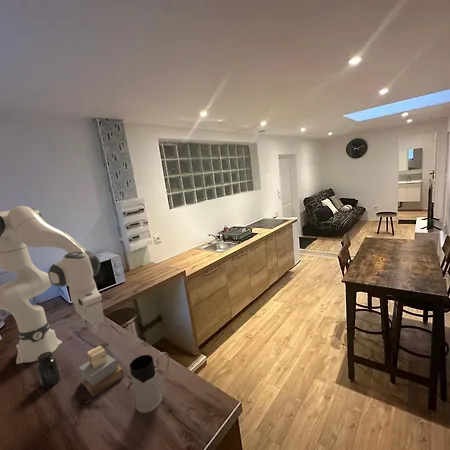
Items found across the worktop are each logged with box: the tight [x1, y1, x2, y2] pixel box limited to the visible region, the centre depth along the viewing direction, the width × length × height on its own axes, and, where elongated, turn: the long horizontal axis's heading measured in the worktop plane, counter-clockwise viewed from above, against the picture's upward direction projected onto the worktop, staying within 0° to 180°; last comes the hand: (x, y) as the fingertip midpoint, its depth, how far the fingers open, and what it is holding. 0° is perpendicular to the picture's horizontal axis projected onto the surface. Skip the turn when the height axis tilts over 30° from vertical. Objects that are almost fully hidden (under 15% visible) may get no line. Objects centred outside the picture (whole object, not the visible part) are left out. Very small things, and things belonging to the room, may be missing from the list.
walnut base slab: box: [79, 363, 125, 397], centre depth 102 cm, size 12×12×4 cm
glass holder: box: [129, 351, 170, 413], centre depth 89 cm, size 9×14×15 cm, turn 135°
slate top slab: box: [78, 353, 118, 386], centre depth 101 cm, size 10×10×4 cm
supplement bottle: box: [36, 352, 62, 388], centre depth 104 cm, size 7×7×12 cm
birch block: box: [86, 345, 107, 369], centre depth 101 cm, size 5×5×5 cm
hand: (91, 327), depth 99 cm, fingers open, 8 cm apart
